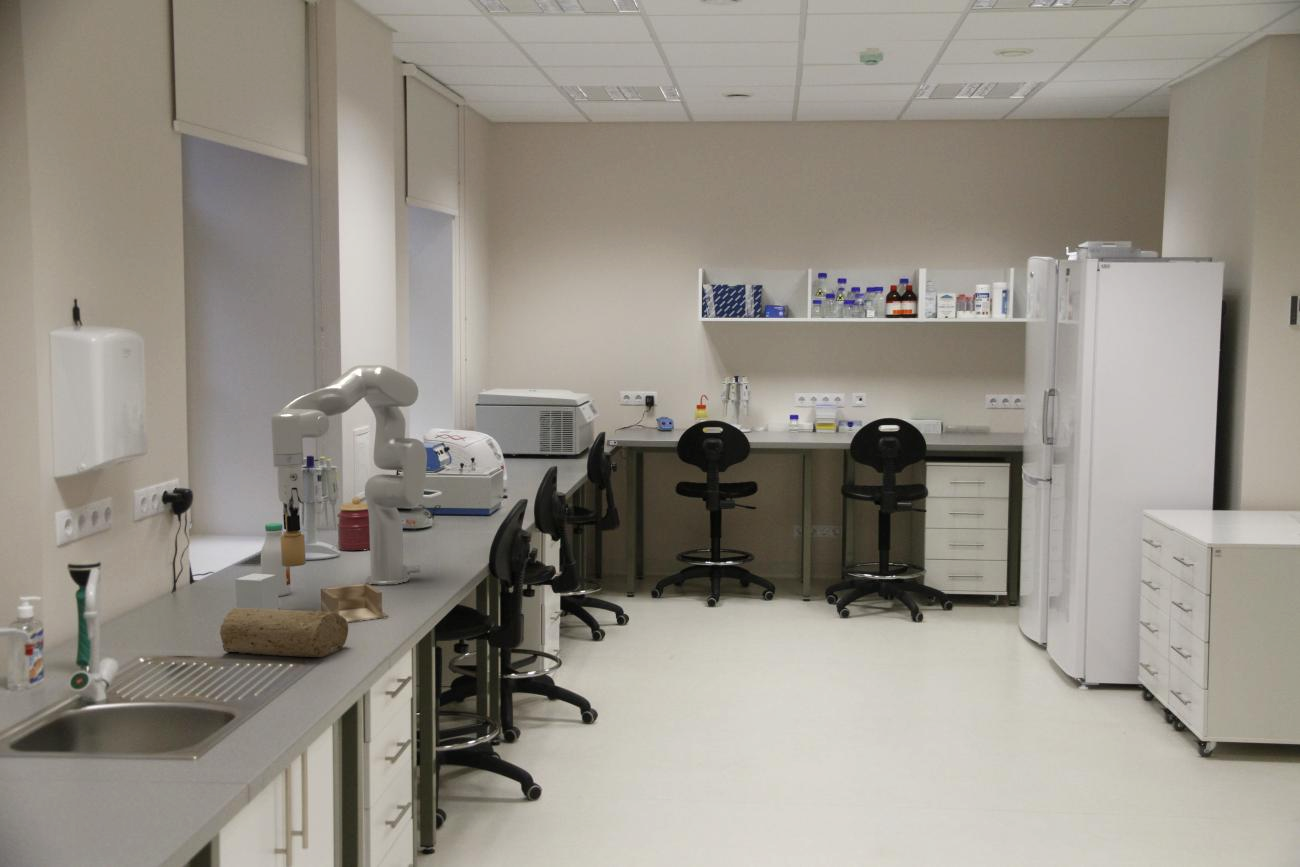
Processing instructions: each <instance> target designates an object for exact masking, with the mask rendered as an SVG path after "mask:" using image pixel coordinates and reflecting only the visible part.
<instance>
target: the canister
mask: <svg viewBox="0 0 1300 867" xmlns="http://www.w3.org/2000/svg"><path fill="white" fill-rule="evenodd" d="M351 501H352V502H347V503H344V504H342V505H341V506H340V507H339V508H338V509H339V510H340V512H338V513H337V514H336V516H337V518H338V523H337V537H338V541H337V545H338V550H340V549H341V550H340V551H343V550H364V549H370V531H369V530H370V529H369V512H368V506H367V502H366V501H361V499H360V498H359V497H358V496H355V497H353V498H352V500H351Z"/></svg>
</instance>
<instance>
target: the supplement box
mask: <svg viewBox="0 0 1300 867" xmlns="http://www.w3.org/2000/svg"><path fill="white" fill-rule="evenodd" d="M235 591H236V592H235V593H236V594H235V595H236V608H254V609H276V610H280V609H279V596H278V588H277V575H270V574H261V573H251V574H247V575H244V576H241V577H238V578H236V579H235Z"/></svg>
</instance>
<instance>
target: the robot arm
mask: <svg viewBox="0 0 1300 867" xmlns="http://www.w3.org/2000/svg"><path fill="white" fill-rule="evenodd" d="M418 398H419V387H418V385H417V383H416V381H415V380H414V379H412V377H410V376H408V375H406V374H404V373H401V372H400V371H398V370H396V369H394V368H391V367H390V366H386V365H376V364H375V365H374V364H373V365H370V364H369V365H363V364H362V365H361V364H360V365H356V366H353V367H351V368H349V369H347V371H346V372H344V373H343V374H341V375H340V376H338V378H337V379H335V380H334V381H332V382H330V384H329V385H327V386H325V387H322V388H319V389H317V390H314V391H312V392H309V393H307V394H303V395H302V396H299V397H297V398H295V399H293V400H292V401H290V402H289V403H288V404H287V405H286V406H284V407H283V408H281V410H280V411H279V412H277V413H274V414H273V415H272V416H271V419H270V421H271V423H270V424H271V441H272V443H271V444H272V459H273V467H274V468H277V472H276V473H277V492H278V500H279V501H280V502H282V513H283V514H282V516H283V517H282V518H283V529H284V530H286V520H285V512H284V508H285V507H287V512H288V516H287V531H288V532H292V531H301V518H300V517H301V516H300V504H299V503H301V504H302V505H303V504H304V503H306V494H305V493H306V492H305V484H304V476H303V469H302V466H304V463H305V462H304V447H303V446H304V445H303V444H304V441H303V439H304V438H306V439H317V438H320V437H322V436H324V435H325V434H326V433H327V432H328V430H329V428H330V420H329V417H331V416H336V415H340V414H343V413H346V412H347V411H349V410H350V409H351V408H352V407H353V406H355V405H357V403H358V402H360V401H361V400H362V399H364V401H365V402H366V403H367V405H368V406H369V407H370V409H371V411H372V413H373V415H374V418H375V433H374V434H375V436H374V444H373V462H374V466H376V468H378V469H381V470H385V471H402V475H401V474H385V473H384V474H376V475H373V476H371V477H370V478H368V480H367V481H366V482H365V484H364V496H365V502H367V506H368V512H369V529H370V530H369V531H370V551H369V552H370V553H369V556H370V557H369V558H370V560H369V561H370V575H369V576H367V577H366V578H365V583H366V582H367V583H371V584H395V585H397V584H396V583H401V584H403V583H402V582H405V581H407V582H409V581H410V575H411V573H415V574H416V573H420V572H421V568H420V566H419V565H416V566H415V565H414V566H413V565H406V564H405V562H404V532H403V528H404V527H403V520H402V516H401V514H400V512H399V510H398V509H415V508H417V507H419V506H420V504H421V503H422V501H423V499H424V495H425V494H424V493H425V484H426V476H427V474H426V473H427V467H428V466H427V464H428V452H427V449H426V446H425V444H424V443H423V442H422V441H421V440H419V439H417V438H410V437H409V438H408V437H407V438H406V419H405V415H404V414H403V411H402V410H401V409H400V407H401V408H404V407H405V408H407V407H410V406H412V405H414V404H416V402H417V400H418ZM290 507H291V508H290ZM408 580H409V581H408ZM367 583H366V584H367ZM405 583H406V582H405ZM371 584H370V585H371Z"/></svg>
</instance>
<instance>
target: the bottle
mask: <svg viewBox="0 0 1300 867" xmlns="http://www.w3.org/2000/svg"><path fill="white" fill-rule="evenodd" d="M290 508H291V507H290ZM284 512H285V520H286V529H285V531H284V532H282V536H281V537H280V539H281V557H282V566H286V567H290V568H291V567H300V566H303V565H306V563H307V562H306V561H307V560H306V542H305V541H306V540H305V534H303V533H302V531H301V530H299V531H292V532H288V531H287V516H288V512H287V507H285V508H284Z"/></svg>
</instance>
